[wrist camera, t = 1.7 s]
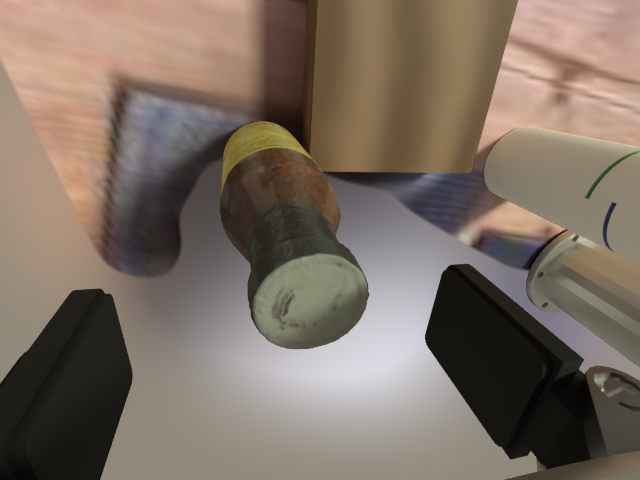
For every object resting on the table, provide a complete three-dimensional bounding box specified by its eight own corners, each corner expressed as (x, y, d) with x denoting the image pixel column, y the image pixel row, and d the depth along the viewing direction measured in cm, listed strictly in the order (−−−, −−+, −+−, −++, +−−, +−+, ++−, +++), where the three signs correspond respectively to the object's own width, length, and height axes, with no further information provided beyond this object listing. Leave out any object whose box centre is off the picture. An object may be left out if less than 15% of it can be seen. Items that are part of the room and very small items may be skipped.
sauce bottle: (208, 157, 27) (145, 313, 9) (261, 100, 26) (299, 159, 8) (267, 208, 30) (301, 397, 12) (316, 159, 29) (429, 292, 11)
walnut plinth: (488, -20, 25) (527, -35, 22) (445, 162, 31) (470, 173, 28) (309, -49, 22) (321, -71, 19) (300, 159, 28) (309, 171, 25)
